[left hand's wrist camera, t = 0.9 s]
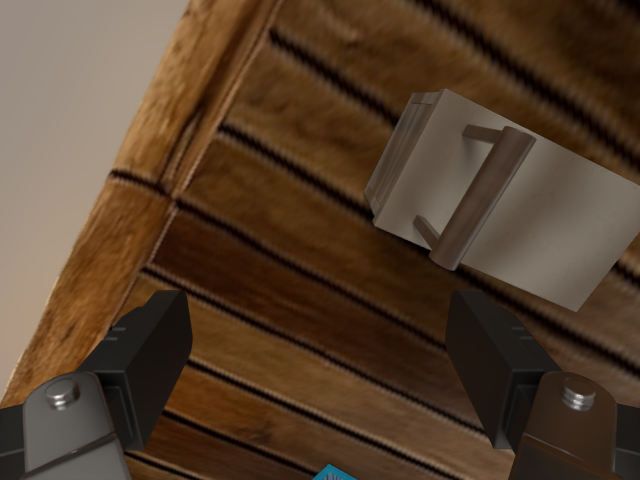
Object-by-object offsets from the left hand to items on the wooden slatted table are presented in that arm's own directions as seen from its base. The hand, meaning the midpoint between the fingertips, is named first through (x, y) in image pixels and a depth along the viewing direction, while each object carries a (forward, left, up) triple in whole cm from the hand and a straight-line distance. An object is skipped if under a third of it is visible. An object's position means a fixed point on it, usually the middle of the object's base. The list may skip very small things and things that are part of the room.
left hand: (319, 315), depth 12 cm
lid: (-7, +12, -16) cm, 21 cm away
